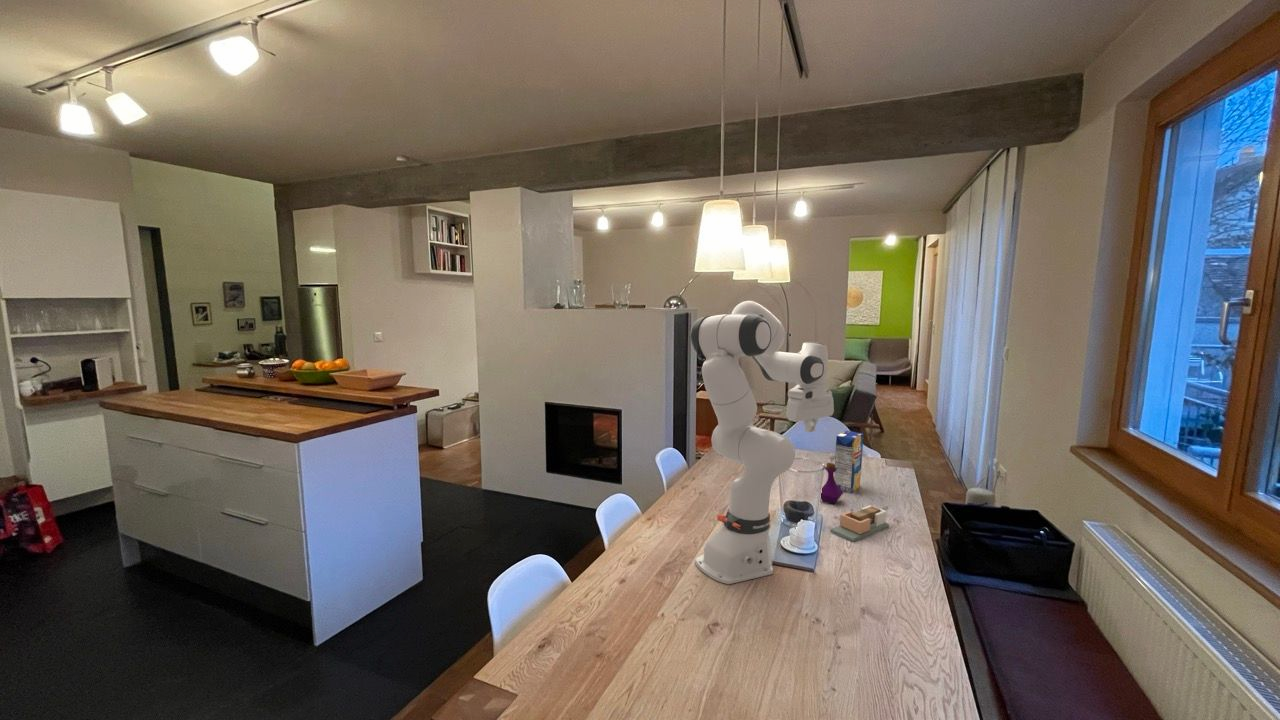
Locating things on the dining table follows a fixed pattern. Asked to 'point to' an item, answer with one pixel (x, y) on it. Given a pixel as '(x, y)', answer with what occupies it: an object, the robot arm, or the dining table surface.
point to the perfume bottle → (831, 484)
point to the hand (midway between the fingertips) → (810, 431)
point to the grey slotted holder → (874, 527)
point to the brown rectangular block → (865, 514)
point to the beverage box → (848, 460)
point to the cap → (854, 523)
